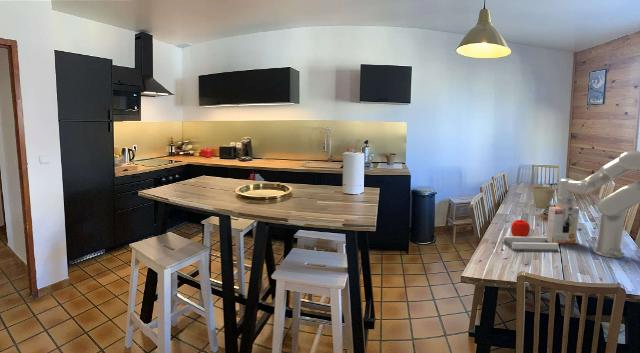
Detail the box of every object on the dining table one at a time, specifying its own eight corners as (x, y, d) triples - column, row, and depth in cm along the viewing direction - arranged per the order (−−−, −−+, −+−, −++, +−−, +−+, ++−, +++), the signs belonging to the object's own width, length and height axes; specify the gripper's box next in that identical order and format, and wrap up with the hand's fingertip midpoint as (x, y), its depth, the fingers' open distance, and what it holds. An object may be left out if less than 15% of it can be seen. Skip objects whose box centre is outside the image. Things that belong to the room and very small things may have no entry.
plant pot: (532, 208, 283) (534, 189, 281) (529, 204, 297) (531, 185, 294) (554, 210, 277) (556, 190, 275) (550, 206, 291) (552, 187, 288)
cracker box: (568, 240, 209) (572, 205, 206) (575, 244, 203) (580, 208, 200) (544, 240, 209) (548, 206, 205) (551, 244, 203) (555, 208, 199)
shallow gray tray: (558, 251, 192) (558, 244, 192) (513, 250, 193) (513, 243, 192) (544, 243, 204) (545, 236, 204) (502, 242, 205) (503, 236, 204)
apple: (531, 243, 205) (533, 222, 203) (513, 241, 207) (515, 221, 205) (525, 237, 214) (527, 218, 212) (507, 236, 216) (509, 217, 214)
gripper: (582, 203, 193) (578, 235, 196) (562, 197, 210) (558, 226, 213) (568, 203, 194) (564, 235, 196) (549, 196, 211) (545, 226, 213)
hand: (561, 230), depth 205 cm, fingers closed on cracker box, 6 cm apart
